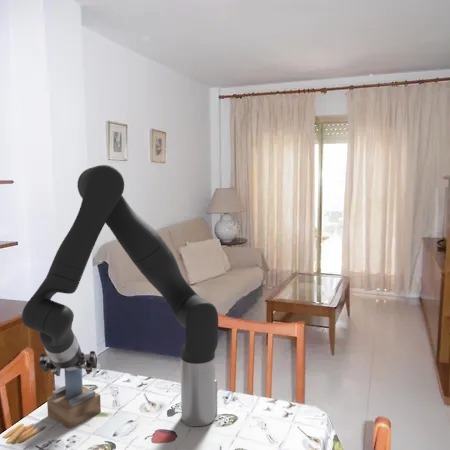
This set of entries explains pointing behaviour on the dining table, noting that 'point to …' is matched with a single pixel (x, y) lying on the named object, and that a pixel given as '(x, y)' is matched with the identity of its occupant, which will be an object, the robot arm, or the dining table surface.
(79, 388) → the ball-topped blue cylinder
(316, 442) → the dining table surface
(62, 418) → the display plinth
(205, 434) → the dining table surface
